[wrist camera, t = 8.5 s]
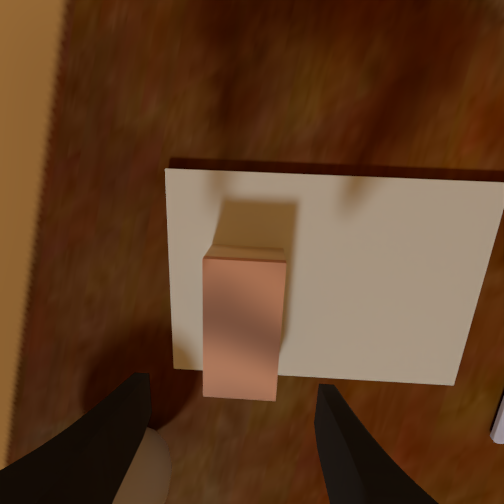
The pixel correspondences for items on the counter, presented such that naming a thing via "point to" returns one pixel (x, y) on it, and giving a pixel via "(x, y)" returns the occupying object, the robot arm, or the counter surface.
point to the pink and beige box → (242, 320)
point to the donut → (147, 473)
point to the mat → (342, 266)
